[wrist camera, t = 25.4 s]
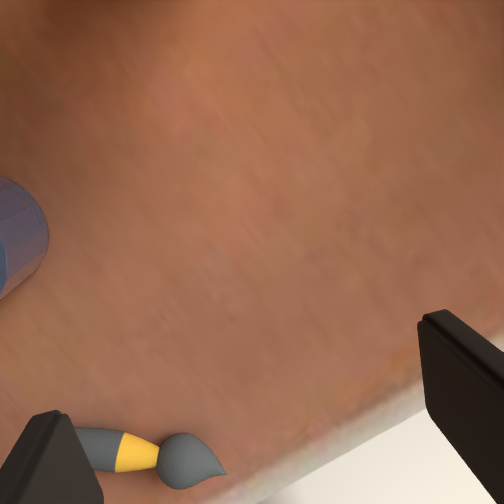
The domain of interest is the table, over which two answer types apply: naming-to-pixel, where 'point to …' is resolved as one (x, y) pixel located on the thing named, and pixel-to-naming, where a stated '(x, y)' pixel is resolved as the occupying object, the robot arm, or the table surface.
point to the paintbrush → (151, 456)
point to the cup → (19, 235)
